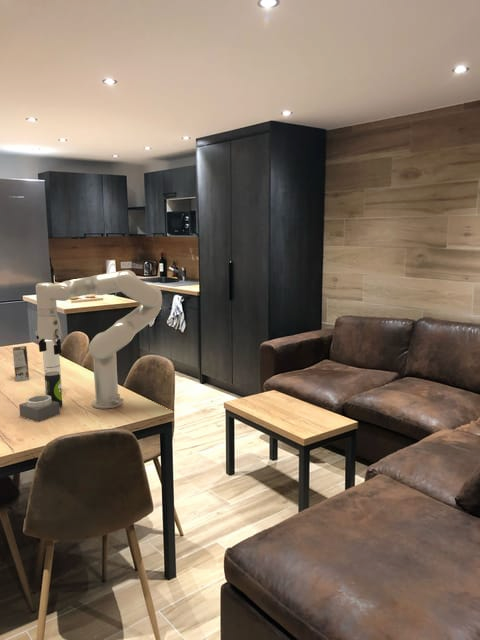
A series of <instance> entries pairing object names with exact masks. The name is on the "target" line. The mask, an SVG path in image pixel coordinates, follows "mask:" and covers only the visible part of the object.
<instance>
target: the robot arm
mask: <svg viewBox="0 0 480 640" xmlns="http://www.w3.org/2000/svg"><path fill="white" fill-rule="evenodd" d="M115 293H121V294H123V295H125V296H127V297H128V298H130V299H132V300H133V301H135V302H137V303H138V304H139V306H137V307H136V308H135V309H133V310H132V311H130V313H127V314H126V315H125V316H123V317H122V318H119V319H118V320H116V321H115V323H114V324H113V325H112V326H110V327H109V328H108V329H106V330H104V331H102V332H99V333H97V334H96V335H95V336H94V337H93V338H92V340H91V341H90V342H89V345H88V353H89V354H90V356H91V357H92V358H93V360H92V361H93V376H94V378H93V379H94V391H95V395H94V396H95V400H93V401H92V404H91V405H92V407H93V408H95V409H99V410H100V409H101V410H107V409H112V408H117V407H119V406H121V405H122V404H123V402H124V398H121V395H120V394H121V393H120V394H119V384H118V371H117V370H118V367H117V366H118V365H117V352H118V351H120V350H121V349H123V348H124V347H125V346H127V345H128V344H129V343H130V342H132V340H133V338H135V337H134V336H136V334H137V333H139V332H140V331H141V330H143V329H144V328H145V327H146V326H148V325H150V323H152V322H153V321H154V320H155V319H156V318H157V316H158V315H159V313H160V312H161V309H162V306H163V305H162V304H163V294H162V291H161V289H160V288H159V287H158V285H155V284H148V283H147V282H144V281H143V280H141V279H139V277H138V276H137V275H136V273H135V272H134V271H132V270H131V269H130V270H129V269H125V270H119V271H113V272H108V273H102V274H95V275H92V276H87V277H81V278H80V277H79V278H76V279H74V278H73V279H70V280H65V281H64V280H63V281H62V282H58V283H57V282H56V283H53V282H39V283H36V285H35V297H36V308H37V310H36V311H37V327H36V328H37V329H36V330H34V334H35V336H36V339H37V343H38V349H39V351H38V352H40V353H43V351H46V350H47V348H46V341H45V340H52V341H53V343H54V344H55V345H54V354H55V355H57V354H59V355H60V354H62V344H63V341H64V340H63V339H64V338H65V337H64V334H63V333H62V328H61V322H60V317H59V315H58V306H57V301H60V302H65V301H68V300H70V299H72V298H76V297H83V296H87V295H88V296H89V295H94V296H103V295H109V294H115ZM56 340H57V342H56ZM44 341H45V342H44Z"/></svg>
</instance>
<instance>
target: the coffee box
mask: <svg viewBox="0 0 480 640" xmlns="http://www.w3.org/2000/svg"><path fill="white" fill-rule="evenodd" d="M12 356H13V357H12V358H13V367H14V368H13V369H14V377H15V378H14V379H15V382H21V381H28V380H30V373H29V372H30V371H29V359H28V358H29V357H28V351H27V345H24V346H21V345H20V346H14V347H13V348H12Z"/></svg>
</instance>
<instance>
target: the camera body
mask: <svg viewBox="0 0 480 640" xmlns="http://www.w3.org/2000/svg"><path fill="white" fill-rule="evenodd" d="M18 407H19V408H18V409H19V416H20V417H21V416H22V417H21V418H24V417H25V419H28V418H29V419H28V420H32V421H35V422H38V423H39V422H42V421H45V420H47V419H49V418H52V417H56V416H58V415H61V411H60V410H61V409H60V408H59V402H55V401H52V399H51V396H48V395H46V394H39V395H33V396H30V397H28V398H26V399H25V402H23V403H20V404H18Z"/></svg>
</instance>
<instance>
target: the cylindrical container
mask: <svg viewBox="0 0 480 640" xmlns="http://www.w3.org/2000/svg"><path fill="white" fill-rule="evenodd" d="M45 341H46V348H47V350H46V351H43V352H42V360H43V371H44V375H45V374H46V373H48V372H59V374H60V378H61V379H62V373H61V359H60V354H57V355H55V354H54V345H55V344H54V343H53V341H52V340H45ZM45 341H44V342H45ZM56 342H57V340H56ZM61 391H62V392H63V386H62V382H61Z"/></svg>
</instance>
